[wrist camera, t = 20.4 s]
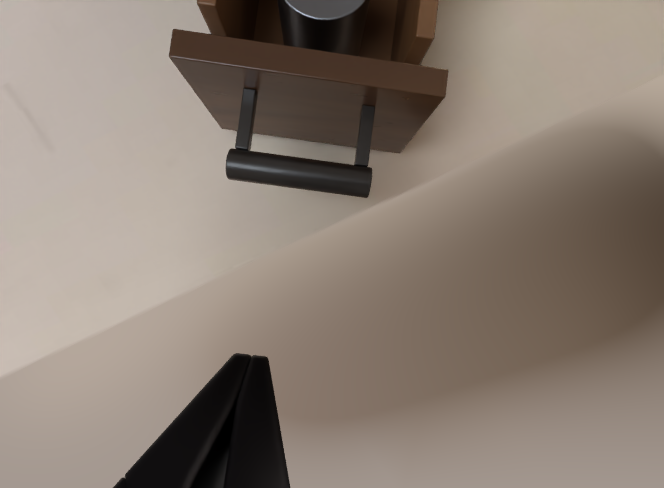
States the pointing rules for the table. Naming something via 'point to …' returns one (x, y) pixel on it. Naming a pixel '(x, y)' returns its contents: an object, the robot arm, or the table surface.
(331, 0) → the cylinder
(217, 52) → the drawer
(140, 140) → the table surface
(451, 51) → the table surface
